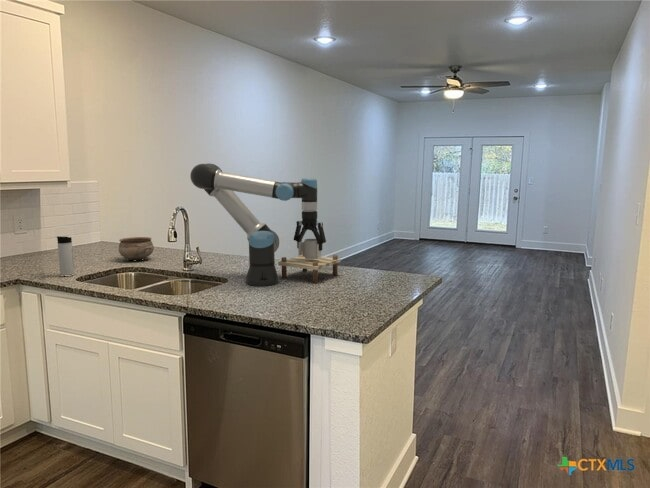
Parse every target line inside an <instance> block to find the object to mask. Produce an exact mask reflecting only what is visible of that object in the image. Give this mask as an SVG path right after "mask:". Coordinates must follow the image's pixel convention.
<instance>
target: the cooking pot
mask: <svg viewBox="0 0 650 488" xmlns="http://www.w3.org/2000/svg"><path fill="white" fill-rule="evenodd" d="M152 240H153V239H152V237H150V236H149V237H148V236H135V237H134V236H133V237H124V238H121V239H119V240H118V241H120V242H119V245H118V252H119V254H120V255H121V257H123V258H124V259H126V260H129V261H131V260H141V261H143V260H142V259H146V258H148V257H149V256H151V255H152V254H153V252H154V248H155V246H154V244H153V242H152Z"/></svg>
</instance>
